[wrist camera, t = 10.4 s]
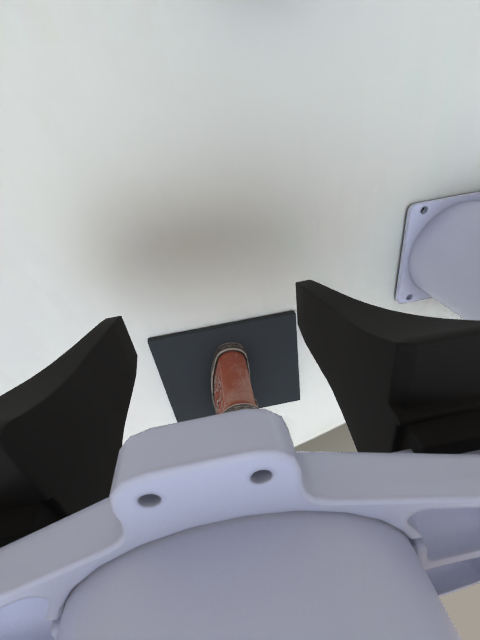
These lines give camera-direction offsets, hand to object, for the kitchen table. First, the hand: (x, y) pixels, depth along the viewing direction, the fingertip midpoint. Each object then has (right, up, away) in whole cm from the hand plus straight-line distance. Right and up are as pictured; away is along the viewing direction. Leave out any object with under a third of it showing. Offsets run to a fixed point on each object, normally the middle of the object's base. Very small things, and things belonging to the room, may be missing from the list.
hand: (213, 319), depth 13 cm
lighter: (0, -5, +15) cm, 16 cm away
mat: (0, -5, +15) cm, 16 cm away
